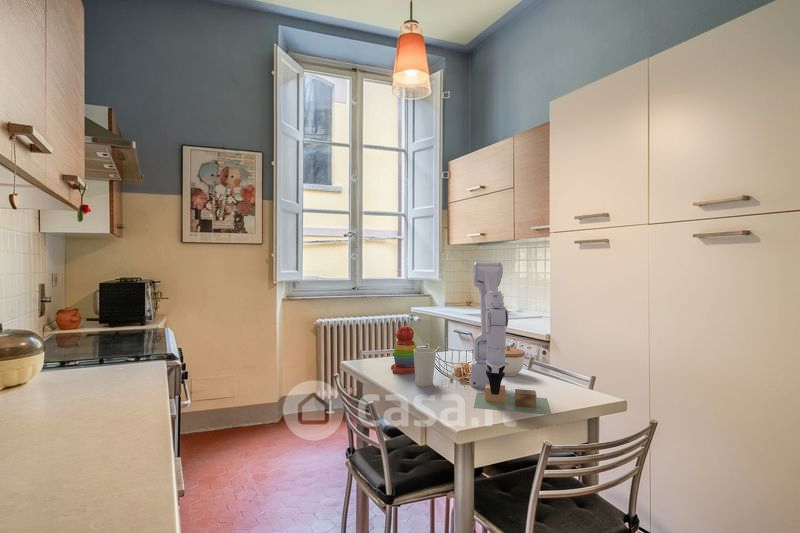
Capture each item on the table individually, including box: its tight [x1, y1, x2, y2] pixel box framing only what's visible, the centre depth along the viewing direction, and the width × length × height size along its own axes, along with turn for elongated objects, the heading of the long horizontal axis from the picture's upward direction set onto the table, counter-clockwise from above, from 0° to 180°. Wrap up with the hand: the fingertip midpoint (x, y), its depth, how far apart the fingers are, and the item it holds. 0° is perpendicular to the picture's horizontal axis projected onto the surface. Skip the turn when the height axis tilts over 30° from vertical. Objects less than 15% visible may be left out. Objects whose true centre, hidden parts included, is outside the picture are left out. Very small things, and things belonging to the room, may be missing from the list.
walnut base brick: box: [514, 388, 537, 408], centre depth 137 cm, size 6×4×4 cm
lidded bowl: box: [503, 345, 526, 377], centre depth 178 cm, size 13×13×11 cm
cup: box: [414, 347, 437, 387], centre depth 161 cm, size 8×8×12 cm
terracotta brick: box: [484, 384, 506, 402], centre depth 142 cm, size 6×4×4 cm
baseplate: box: [473, 392, 553, 416], centre depth 139 cm, size 22×16×1 cm
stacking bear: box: [390, 325, 418, 375], centre depth 180 cm, size 11×10×18 cm
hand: (495, 390), depth 142 cm, fingers open, 7 cm apart
